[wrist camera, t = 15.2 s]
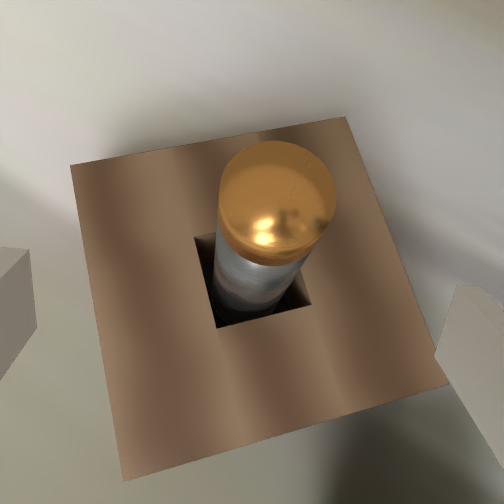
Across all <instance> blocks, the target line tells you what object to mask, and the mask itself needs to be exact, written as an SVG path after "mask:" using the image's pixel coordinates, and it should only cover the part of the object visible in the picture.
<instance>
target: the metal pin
mask: <svg viewBox="0 0 504 504" xmlns="http://www.w3.org/2000/svg"><path fill="white" fill-rule="evenodd" d="M336 202H337V193H336V187H335V183H334V180H333V178H332V176H331V174H330V172H329V170H328V169H327V167H326V166H325V165H324V163H323V162H322V161H321V160H320V159H319V158H318V157H317V156H315V155H314V154H313V153H311V152H310V151H308V150H307V149H305V148H303V147H301V146H298V145H295V144H293V143H288V142H283V141H265V142H260V143H256V144H253V145H251V146H248V147H246V148H245V149H243V150H241V151H240V152H238V153H237V154H236V155H235V156H234V157H233V158H232V159H231V160H230V161H229V163H228V164H227V166H226V167H225V169H224V171H223V174H222V177H221V181H220V189H219V202H218V216H217V230H216V244H215V257H214V271H213V285H212V302H213V306H214V308H215V310H216V312H217V314H218V315H219V316H220V317H221V318H222V319H223V320H224V321H225V322H227V323H228V324H230V325H234V324H238V323H242V322H246V321H250V320H254V319H258V318H262V317H266V316H270V315H271V314H272V312H273V310H274V309H275V307H276V306H277V304H278V303H279V301H280V300H281V298H282V296H283V295H284V293H285V292H286V290H287V289H288V287H289V285H290V284H291V282H292V281H293V279H294V278H295V276H296V274H297V273H298V271H299V270H300V268H301V267H302V265H303V263H304V262H305V260H306V259H307V257H308V256H309V254H310V253H311V251H312V249H313V248H314V246H315V245H316V243H317V242H318V240H319V238H320V237H321V235H322V234H323V232H324V231H325V229H326V227H327V226H328V224H329V223H330V221H331V219H332V217H333V215H334V212H335V208H336Z"/></svg>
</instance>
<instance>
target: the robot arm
mask: <svg viewBox="0 0 504 504" xmlns="http://www.w3.org/2000/svg"><path fill="white" fill-rule="evenodd" d="M36 328H37V324H36V314H35V304H34V293H33V283H32V273H31V263H30V253H29V249H19V248H7V247H2V248H1V249H0V380H1V379H2V377H3V376H4V374H5V373H6V372H7V370H8V369H9V367H10V366H11V364H12V363H13V361H14V360H15V358H16V357H17V356H18V354H19V353H20V351H21V350H22V348H23V347H24V345H25V344H26V343H27V341H28V340H29V338H30V337H31V335H32V334H33V332H34V331H35V330H36ZM434 357H435V359H436V360H437V362H438V364H439V365H440V367H441V368H442V370H443V372H444V373H445V375H446V377H447V378H448V380H449V381H450V383H451V385H452V386H453V388H454V390H455V391H456V393H457V395H458V396H459V398H460V399H461V401H462V403H463V404H464V406H465V408H466V409H467V411H468V413H469V414H470V416H471V417H472V419H473V421H474V422H475V424H476V426H477V427H478V429H479V431H480V432H481V434H482V435H483V437H484V439H485V440H486V442H487V444H488V445H489V447H490V449H491V450H492V452H493V453H494V455H495V457H496V458H497V460H498V462H499V463H500V465H501V467H502V468H503V470H504V311H503V309H502V308H501V307H500V306H499V305H498V304H497V303H496V302H495V301H494V300H493V299H492V298H491V297H490V296H489V295H488V294H487V293H486V292H485V291H484V290H483V289H482V288H481V287H477V286H465V285H457V287H456V290H455V293H454V296H453V299H452V302H451V305H450V308H449V311H448V315H447V318H446V321H445V324H444V327H443V330H442V333H441V336H440V339H439V342H438V345H437V348H436V352H435V355H434Z"/></svg>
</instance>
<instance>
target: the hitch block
mask: <svg viewBox="0 0 504 504" xmlns="http://www.w3.org/2000/svg"><path fill="white" fill-rule="evenodd" d="M265 141H283V142H288V143H293V144H295V145H298V146H301V147H303V148H305V149H307V150H308V151H310V152H311V153H313V154H314V155H315V156H317V157H318V158H319V159H320V160H321V161H322V162H323V163H324V165H325V166H326V167H327V169H328V170H329V172H330V174H331V176H332V178H333V180H334V183H335V187H336V193H337V202H336V208H335V212H334V215H333V217H332V219H331V221H330V223H329V224H328V226H327V227H326V229H325V231H324V232H323V234H322V235H321V237H320V238H319V240H318V242H317V243H316V245H315V246H314V248H313V249H312V251H311V253H310V254H309V256H308V257H307V259H306V260H305V262H304V263H303V265H302V267H301V268H300V270H299V271H298V273H297V274H296V276H295V278H294V279H293V281H292V282H291V284H290V285H289V287H288V289H287V290H286V292H285V296H286V299H287V303H288V306H289V309H290V311H286V312H282V313H278V314H274V315H270V316H266V317H262V318H258V319H254V320H250V321H246V322H242V323H238V324H234V325H230V326H226V327H222V328H218V329H216V325H215V321H214V317H213V313H212V309H211V305H210V301H209V297H208V293H207V289H206V285H205V281H204V277H203V273H202V269H201V265H202V264H207V263H211V262H214V257H215V244H216V230H217V216H218V202H219V189H220V181H221V177H222V174H223V171H224V169H225V167H226V166H227V164H228V163H229V161H230V160H231V159H232V158H233V157H234V156H235V155H236V154H237V153H238V152H240V151H241V150H243V149H245V148H246V147H248V146H251V145H253V144H256V143H260V142H265ZM70 168H71V174H72V180H73V186H74V192H75V198H76V204H77V210H78V216H79V221H80V227H81V233H82V239H83V245H84V251H85V257H86V263H87V269H88V274H89V280H90V286H91V292H92V298H93V304H94V310H95V316H96V322H97V328H98V333H99V339H100V345H101V351H102V357H103V363H104V369H105V375H106V381H107V386H108V392H109V398H110V404H111V410H112V416H113V422H114V428H115V434H116V440H117V445H118V451H119V457H120V463H121V469H122V475H123V481H124V482H126V481H129V480H132V479H136V478H139V477H142V476H145V475H149V474H152V473H155V472H159V471H162V470H165V469H169V468H172V467H175V466H179V465H182V464H185V463H189V462H192V461H195V460H199V459H202V458H205V457H209V456H212V455H215V454H219V453H222V452H225V451H229V450H232V449H235V448H239V447H242V446H245V445H248V444H252V443H255V442H258V441H262V440H265V439H268V438H272V437H275V436H278V435H282V434H285V433H288V432H292V431H295V430H298V429H302V428H305V427H308V426H312V425H315V424H318V423H322V422H325V421H328V420H332V419H335V418H338V417H342V416H345V415H348V414H352V413H355V412H358V411H361V410H365V409H368V408H371V407H375V406H378V405H381V404H385V403H388V402H391V401H395V400H398V399H401V398H405V397H408V396H411V395H415V394H418V393H421V392H425V391H428V390H431V389H435V388H438V387H441V386H445V385H448V384H449V383H448V380H447V377H446V375H445V373H444V372H443V370H442V368H441V367H440V365H439V364H438V362H437V360H436V359H435V357H434V355H435V352H436V349H435V347H434V344H433V341H432V339H431V336H430V334H429V331H428V329H427V326H426V323H425V321H424V318H423V316H422V313H421V311H420V308H419V305H418V303H417V300H416V298H415V295H414V293H413V290H412V287H411V285H410V282H409V280H408V277H407V275H406V272H405V269H404V267H403V264H402V262H401V259H400V257H399V254H398V251H397V249H396V246H395V244H394V241H393V238H392V236H391V233H390V231H389V228H388V226H387V223H386V220H385V218H384V215H383V213H382V210H381V208H380V205H379V202H378V200H377V197H376V195H375V192H374V190H373V187H372V184H371V182H370V179H369V177H368V174H367V172H366V169H365V166H364V164H363V161H362V159H361V156H360V154H359V151H358V148H357V146H356V143H355V141H354V138H353V136H352V133H351V130H350V128H349V125H348V123H347V120H346V117H340V118H334V119H328V120H323V121H317V122H311V123H306V124H300V125H295V126H289V127H283V128H278V129H272V130H266V131H261V132H255V133H249V134H244V135H238V136H233V137H227V138H221V139H216V140H210V141H204V142H199V143H193V144H187V145H182V146H176V147H171V148H165V149H159V150H154V151H148V152H142V153H137V154H131V155H126V156H120V157H114V158H109V159H103V160H97V161H92V162H86V163H80V164H75V165H70Z"/></svg>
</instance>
